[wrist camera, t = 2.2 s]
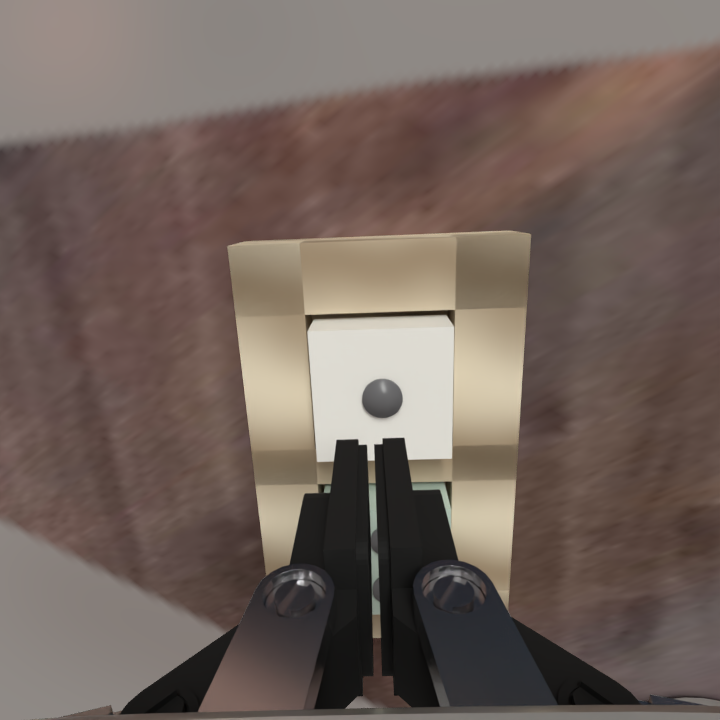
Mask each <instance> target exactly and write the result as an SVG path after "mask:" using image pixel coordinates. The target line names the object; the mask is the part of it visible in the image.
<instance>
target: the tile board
mask: <svg viewBox="0 0 720 720" xmlns="http://www.w3.org/2000/svg"><path fill="white" fill-rule="evenodd" d="M530 244H531V234H528V233H522V232H516V231H490V232H465V233H440V234H415V235H390V236H365V237H340V238H315V239H290V240H265V241H245V242H241V243H238V244H234V245H230V246H227V247H228V255H229V264H230V272H231V281H232V289H233V298H234V306H235V315H236V323H237V332H238V340H239V349H240V357H241V366H242V374H243V383H244V391H245V400H246V408H247V417H248V425H249V433H250V442H251V450H252V459H253V467H254V476H255V484H256V493H257V501H258V510H259V518H260V527H261V535H262V544H263V552H264V561H265V569H266V576H267V575H268V574H269V573H271V572H272V571H274V570H276V569H278V568H280V567H283V566H287V565H289V564H290V559H291V555H292V550H293V545H294V540H295V535H296V530H297V525H298V521H299V516H300V511H301V506H302V501H303V497H304V494H305V493H324V490H325V484H331V481H332V473H333V464H334V461H333V462H317V454H316V441H315V428H314V414H313V401H312V387H311V374H310V360H309V347H308V333H307V331H308V329H309V328H310V326H311V324H312V322H313V320H314V319H331V318H361V317H390V316H420V315H447V317H448V318H449V320H450V321H451V323H452V324H453V326H454V369H453V427H452V459H419V460H408V463H409V469H410V475H411V481H412V482H444V483H445V487H446V491H447V495H448V499H449V503H450V507H451V533H452V537H453V541H454V545H455V549H456V552H457V556H458V560H459V561H463V562H467V563H469V564H471V565H474V566H476V567H478V568H479V569H480V570H482V571H483V572H484V573H486V574H487V576H488V577H489V578H490V580H491V581H492V582H493V584H494V586H495V588H496V590H497V592H498V593H499V595H500V597H501V599H502V601H503V603H504V605H505V607H506V608H507V610H508V601H509V585H510V568H511V552H512V536H513V520H514V503H515V487H516V471H517V455H518V438H519V422H520V406H521V390H522V374H523V357H524V341H525V325H526V309H527V292H528V276H529V260H530ZM368 478H369V483H375V461H368ZM372 623H373V638H381V625H380V614H379V615H372Z"/></svg>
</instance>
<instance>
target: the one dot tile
mask: <svg viewBox="0 0 720 720" xmlns="http://www.w3.org/2000/svg"><path fill="white" fill-rule="evenodd" d="M307 333H308V347H309V360H310V374H311V387H312V401H313V414H314V428H315V441H316V454H317V462H333V461H334V456H335V447H336V440H345V439H358V441H359V445H367V454H368V461H375V455H374V444H383V443H382V438H404V439H405V444H406V451H407V457H408V460H419V459H452V427H453V369H454V326H453V324H452V323H451V321H450V320H449V318H448V317H447V315H420V316H390V317H361V318H331V319H314V320H313V322H312V324H311V326H310V328H309V329H308V331H307Z"/></svg>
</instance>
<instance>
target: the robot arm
mask: <svg viewBox="0 0 720 720" xmlns="http://www.w3.org/2000/svg"><path fill="white" fill-rule="evenodd" d="M382 443H383V444H374V455H375V484H376V512H377V540H378V568H379V597H380V625H381V653H382V676H393V683H394V696H396V695H399V696H400V697H401V698H402V699H403V700H404V701H405V702H407V703H408V704H409V705H410V706H411V707H412V708H361V709H345V708H346V707H347V706H348V705H349V704H350V703H351V702H352V701H353V700H354V699H355V698H356V697H357V696H363V676H373V623H372V564H371V528H370V503H369V478H368V454H367V445H359V441H358V439H345V440H336V447H335V456H334V464H333V473H332V481H331V490H330V493H305V494H304V497H303V501H302V506H301V511H300V516H299V521H298V525H297V530H296V535H295V540H294V545H293V550H292V555H291V559H290V564H289V565H287V566H283V567H280V568H278V569H276V570H274V571H272V572H271V573H269V574H268V575H267V576H266V577H265V578H263V579H262V580H261V582H260V583H259V585H258V586H257V588H256V589H255V592H254V594H253V596H252V598H251V600H250V602H249V604H248V606H247V609H246V611H245V613H244V615H243V617H242V619H241V621H240V623H239V625H237V626H236V627H234V628H233V629H231V630H230V631H228V632H227V633H226V634H224V635H223V636H221V637H220V638H218V639H217V640H215V641H214V642H212V643H211V644H210V645H208V646H207V647H205V648H204V649H202V650H201V651H200V652H198V653H197V654H195V655H194V656H192V657H191V658H189V659H188V660H187V661H185V662H184V663H182V664H181V665H179V666H178V667H177V668H175V669H173V670H172V671H171V672H169V673H168V674H166V675H165V676H163V677H162V678H160V679H159V680H157V681H156V682H154V683H153V684H152V685H150V686H149V687H147V688H146V689H144V690H143V691H142V692H140V693H139V694H138V695H137V696H136V697H135V698H133V699H132V700H131V701H130V702H129V703H128V704H127V705H126V706H125V708H124V709H123V710H122V711H118V712H113V711H112V708H111V705H109V706H105V707H100V708H97V709H92V710H88V711H84V712H79V713H75V714H71V715H67V716H63V717H58V718H45V719H34V720H720V701H717V700H712V699H706V698H688V697H682V698H673V699H671V698H666V697H661V696H655V695H650V697H649V701H648V702H645V701H639V700H637V699H636V698H635V697H634V696H633V694H632V693H631V692H629V691H628V690H627V689H625V688H624V687H623V686H621V685H620V684H619V683H617V682H616V681H615V680H613V679H611V678H610V677H608V676H606V675H605V674H603V673H602V672H600V671H598V670H597V669H595V668H593V667H592V666H590V665H589V664H587V663H585V662H584V661H582V660H580V659H579V658H577V657H576V656H574V655H572V654H571V653H569V652H567V651H566V650H564V649H563V648H561V647H559V646H558V645H556V644H554V643H553V642H551V641H550V640H548V639H546V638H545V637H543V636H541V635H540V634H538V633H537V632H535V631H533V630H532V629H530V628H528V627H527V626H525V625H524V624H522V623H520V622H519V621H517V620H515V619H514V618H512V617H511V616H510V614H509V612H508V610H507V608H506V607H505V605H504V603H503V601H502V599H501V597H500V595H499V593H498V592H497V590H496V588H495V586H494V584H493V582H492V581H491V580H490V578H489V577H488V576H487V574H486V573H484V572H483V571H482V570H480V569H479V568H478V567H476V566H474V565H471V564H469V563H467V562H463V561H459V560H458V556H457V552H456V549H455V545H454V541H453V537H452V533H451V529H450V525H449V521H448V517H447V513H446V509H445V506H444V502H443V498H442V494H441V491H440V490H439V489H435V490H413V488H412V481H411V475H410V469H409V463H408V457H407V451H406V444H405V439H404V438H382ZM32 720H33V719H32Z"/></svg>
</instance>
